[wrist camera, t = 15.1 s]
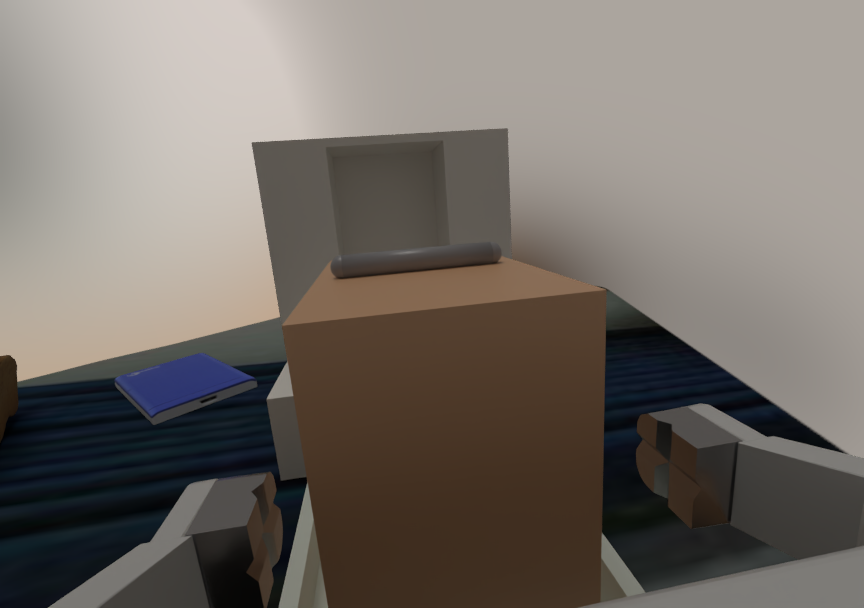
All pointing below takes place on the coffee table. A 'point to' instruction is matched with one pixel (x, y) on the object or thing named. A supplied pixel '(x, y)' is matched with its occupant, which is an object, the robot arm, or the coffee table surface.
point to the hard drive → (182, 386)
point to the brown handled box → (452, 429)
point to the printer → (371, 216)
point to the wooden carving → (7, 391)
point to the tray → (305, 582)
